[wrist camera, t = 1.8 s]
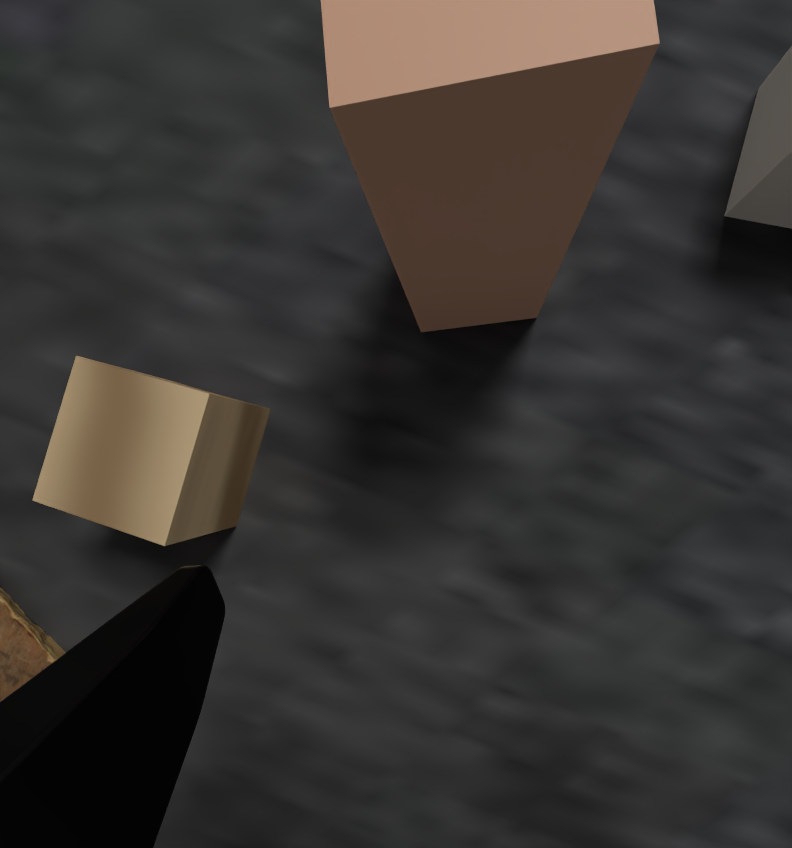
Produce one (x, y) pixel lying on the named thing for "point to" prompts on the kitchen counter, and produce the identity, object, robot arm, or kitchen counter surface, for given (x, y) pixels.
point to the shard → (21, 647)
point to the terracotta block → (482, 136)
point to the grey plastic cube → (767, 154)
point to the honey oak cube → (149, 454)
